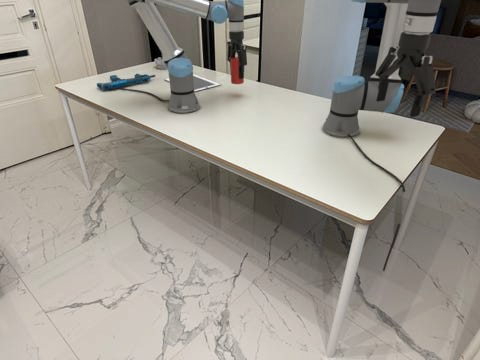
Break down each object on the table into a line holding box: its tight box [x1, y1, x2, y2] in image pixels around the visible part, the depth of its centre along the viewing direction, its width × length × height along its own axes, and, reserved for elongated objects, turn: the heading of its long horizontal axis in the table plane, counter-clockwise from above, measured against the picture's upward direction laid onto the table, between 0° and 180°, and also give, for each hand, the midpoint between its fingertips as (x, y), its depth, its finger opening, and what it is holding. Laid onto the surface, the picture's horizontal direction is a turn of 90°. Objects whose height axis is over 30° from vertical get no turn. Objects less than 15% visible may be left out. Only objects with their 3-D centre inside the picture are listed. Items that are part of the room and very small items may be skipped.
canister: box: [230, 56, 245, 85], centre depth 181 cm, size 7×7×13 cm
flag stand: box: [154, 53, 168, 70], centre depth 230 cm, size 13×13×30 cm
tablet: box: [164, 73, 222, 93], centre depth 209 cm, size 32×20×1 cm, turn 41°
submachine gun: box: [96, 73, 156, 91], centre depth 208 cm, size 34×4×25 cm
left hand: (237, 76), depth 182 cm, fingers closed on canister, 7 cm apart
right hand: (396, 108), depth 102 cm, fingers open, 13 cm apart
